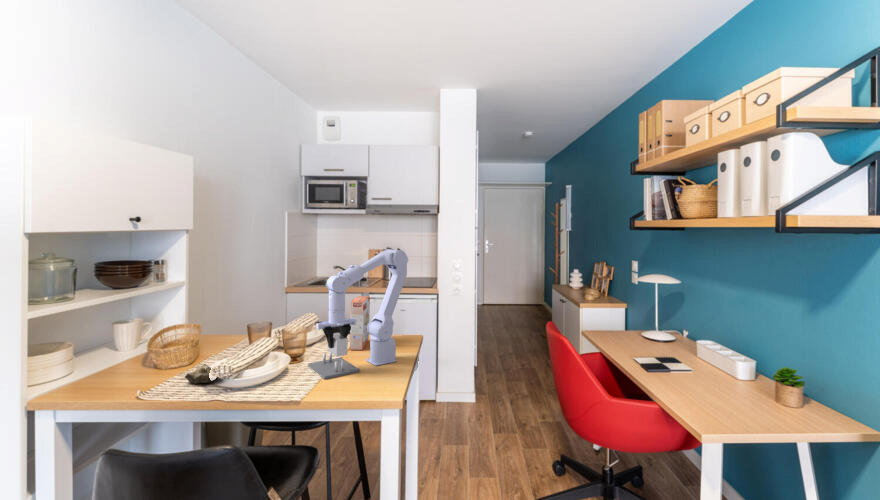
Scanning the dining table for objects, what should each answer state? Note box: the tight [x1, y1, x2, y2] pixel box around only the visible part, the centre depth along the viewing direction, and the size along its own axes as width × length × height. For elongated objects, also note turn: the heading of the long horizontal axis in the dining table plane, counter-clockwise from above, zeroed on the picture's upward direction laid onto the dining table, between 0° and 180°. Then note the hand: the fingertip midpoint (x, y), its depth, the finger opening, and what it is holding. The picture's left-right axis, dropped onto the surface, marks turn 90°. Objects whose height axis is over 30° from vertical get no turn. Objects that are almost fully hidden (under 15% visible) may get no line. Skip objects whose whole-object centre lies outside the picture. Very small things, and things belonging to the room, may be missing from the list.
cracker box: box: [349, 295, 371, 351], centre depth 178 cm, size 14×6×21 cm, turn 179°
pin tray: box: [307, 351, 360, 381], centre depth 149 cm, size 13×16×4 cm
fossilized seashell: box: [184, 363, 213, 384], centre depth 135 cm, size 8×7×10 cm
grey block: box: [327, 332, 349, 358], centre depth 147 cm, size 4×8×6 cm, turn 38°
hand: (336, 346), depth 147 cm, fingers closed on grey block, 4 cm apart
